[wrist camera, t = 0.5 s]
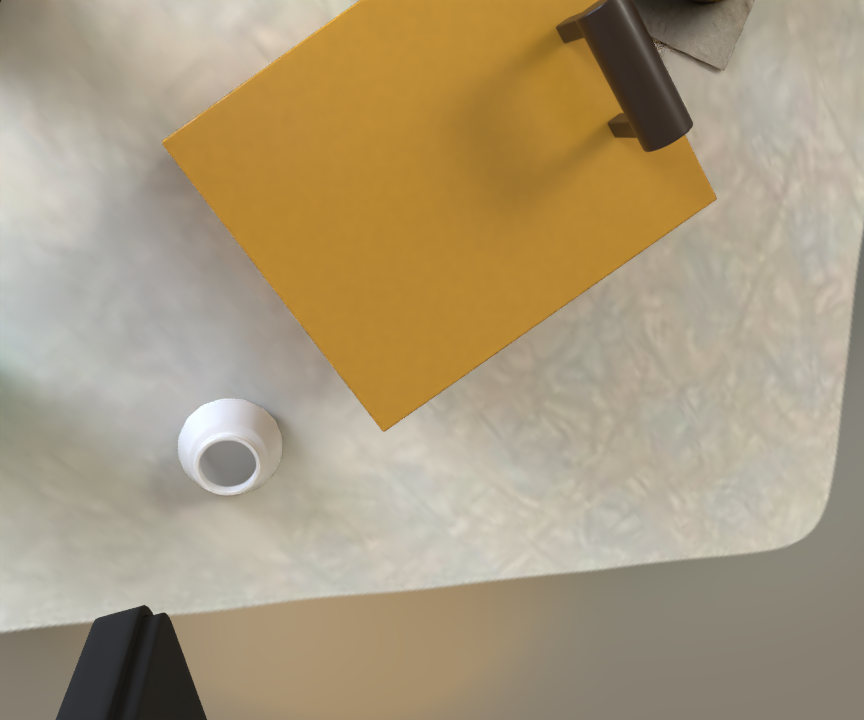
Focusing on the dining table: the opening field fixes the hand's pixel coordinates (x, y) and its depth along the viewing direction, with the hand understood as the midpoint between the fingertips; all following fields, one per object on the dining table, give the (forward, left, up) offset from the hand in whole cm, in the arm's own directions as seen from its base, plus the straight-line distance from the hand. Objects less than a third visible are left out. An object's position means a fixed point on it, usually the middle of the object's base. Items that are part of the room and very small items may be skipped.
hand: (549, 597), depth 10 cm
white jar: (+11, -3, -30) cm, 32 cm away
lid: (-5, +2, -22) cm, 23 cm away
